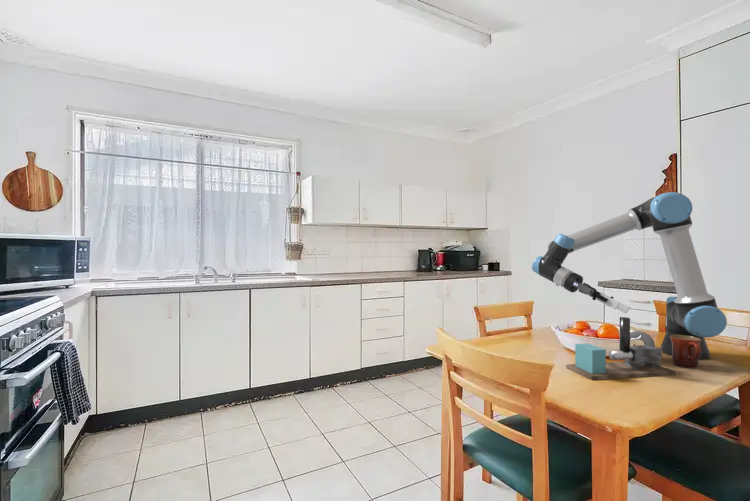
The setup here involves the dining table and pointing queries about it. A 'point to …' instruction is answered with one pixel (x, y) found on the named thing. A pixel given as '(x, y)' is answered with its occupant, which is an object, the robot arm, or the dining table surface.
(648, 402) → the dining table surface
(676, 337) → the mug
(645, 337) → the grey curved piece
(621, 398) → the dining table surface
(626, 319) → the slip tube
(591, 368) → the socket block
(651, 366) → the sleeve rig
